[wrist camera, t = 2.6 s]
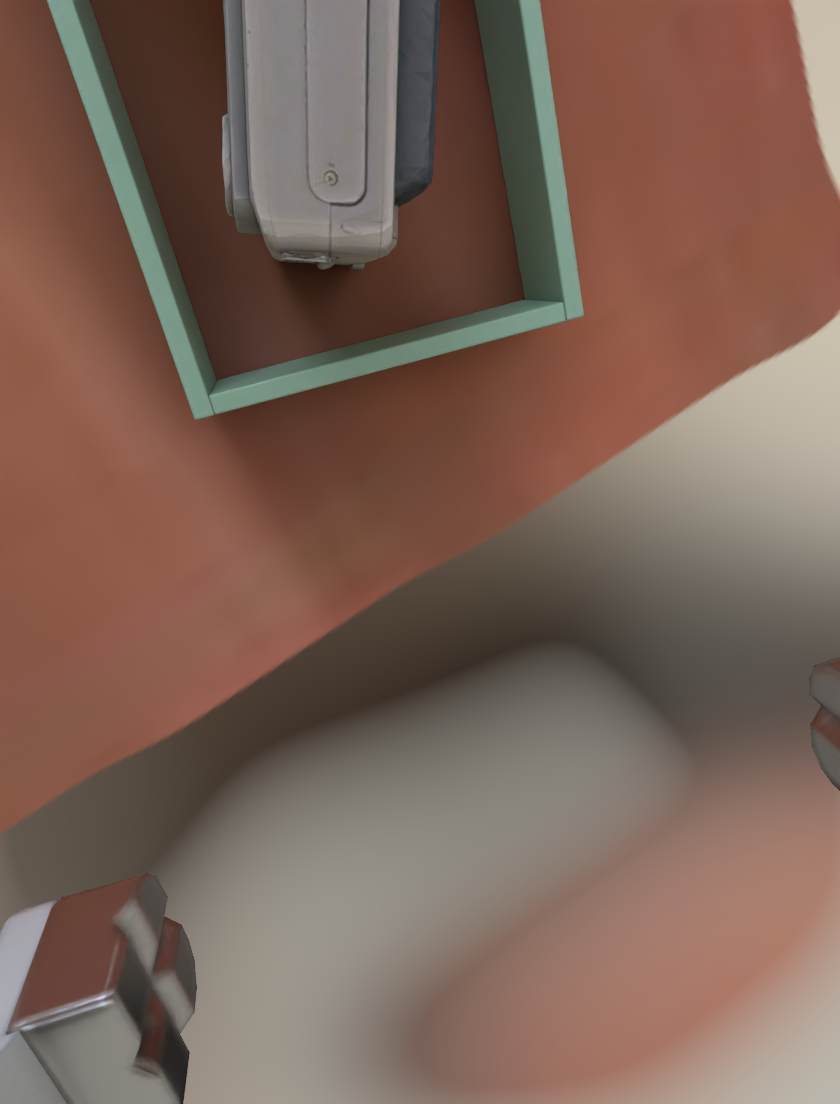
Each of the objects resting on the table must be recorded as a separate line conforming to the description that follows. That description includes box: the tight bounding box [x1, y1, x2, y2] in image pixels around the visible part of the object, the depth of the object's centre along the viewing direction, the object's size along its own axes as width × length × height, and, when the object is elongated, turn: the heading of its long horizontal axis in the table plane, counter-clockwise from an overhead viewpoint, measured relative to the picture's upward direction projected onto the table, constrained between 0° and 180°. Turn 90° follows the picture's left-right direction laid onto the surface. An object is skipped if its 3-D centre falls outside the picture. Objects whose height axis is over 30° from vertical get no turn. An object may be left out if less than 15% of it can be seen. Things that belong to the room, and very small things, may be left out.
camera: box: [222, 0, 440, 271], centre depth 22 cm, size 11×6×10 cm, turn 176°
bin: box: [47, 0, 584, 420], centre depth 25 cm, size 14×18×4 cm
